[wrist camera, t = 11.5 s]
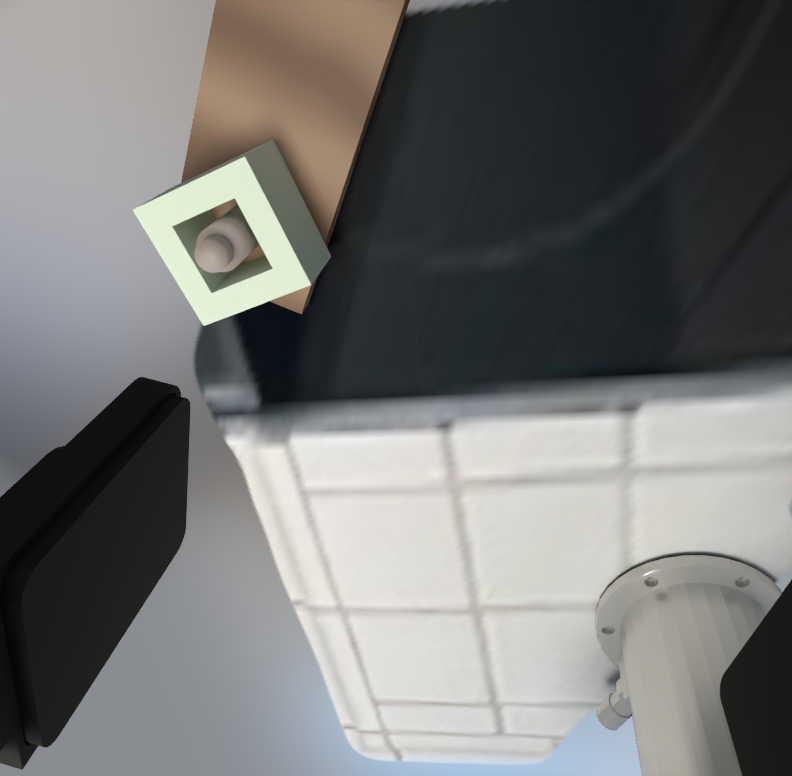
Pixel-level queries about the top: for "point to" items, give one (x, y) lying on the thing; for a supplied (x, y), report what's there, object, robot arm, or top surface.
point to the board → (288, 106)
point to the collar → (266, 215)
